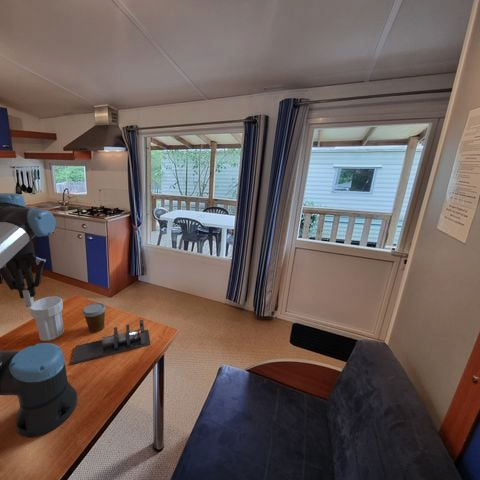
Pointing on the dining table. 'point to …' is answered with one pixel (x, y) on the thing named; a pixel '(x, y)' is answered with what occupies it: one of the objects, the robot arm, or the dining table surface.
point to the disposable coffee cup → (95, 316)
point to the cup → (48, 317)
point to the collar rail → (97, 351)
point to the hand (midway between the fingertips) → (30, 304)
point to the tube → (121, 338)
